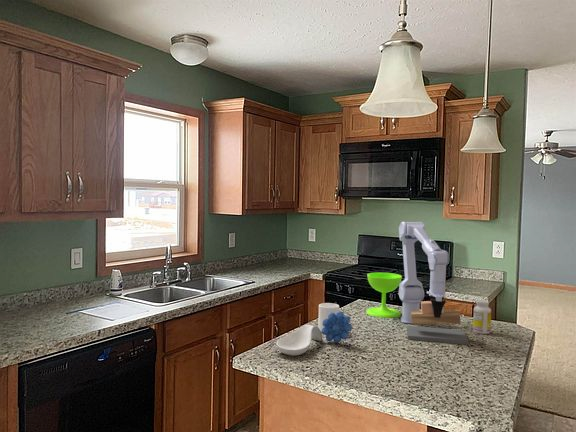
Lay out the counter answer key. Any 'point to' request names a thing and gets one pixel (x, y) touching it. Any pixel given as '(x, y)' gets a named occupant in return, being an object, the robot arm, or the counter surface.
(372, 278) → the wineglass
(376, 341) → the counter surface
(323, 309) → the mug
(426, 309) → the terracotta crate
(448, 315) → the pallet
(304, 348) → the spoon rest
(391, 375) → the counter surface
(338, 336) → the blue lobed knob
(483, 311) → the supplement bottle
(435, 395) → the counter surface
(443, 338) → the dock
